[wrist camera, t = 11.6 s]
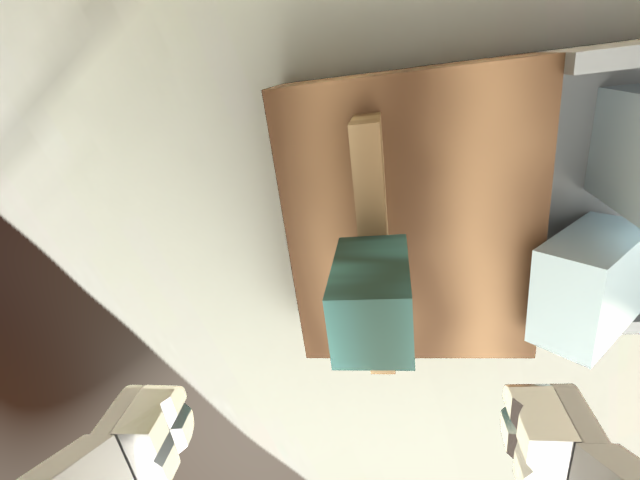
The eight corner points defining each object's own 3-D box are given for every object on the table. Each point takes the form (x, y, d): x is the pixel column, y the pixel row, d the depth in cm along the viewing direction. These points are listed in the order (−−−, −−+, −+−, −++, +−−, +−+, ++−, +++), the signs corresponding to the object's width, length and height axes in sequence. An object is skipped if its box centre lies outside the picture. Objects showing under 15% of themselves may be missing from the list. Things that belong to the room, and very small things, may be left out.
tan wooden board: (317, 318, 28) (306, 358, 25) (282, 83, 22) (261, 90, 19) (514, 315, 26) (534, 358, 22) (533, 52, 20) (566, 52, 16)
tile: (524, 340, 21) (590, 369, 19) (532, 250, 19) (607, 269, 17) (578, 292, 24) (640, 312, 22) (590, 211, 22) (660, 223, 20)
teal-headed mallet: (358, 336, 23) (345, 463, 16) (335, 116, 19) (302, 157, 11) (409, 336, 23) (419, 467, 16) (399, 110, 18) (406, 148, 11)
